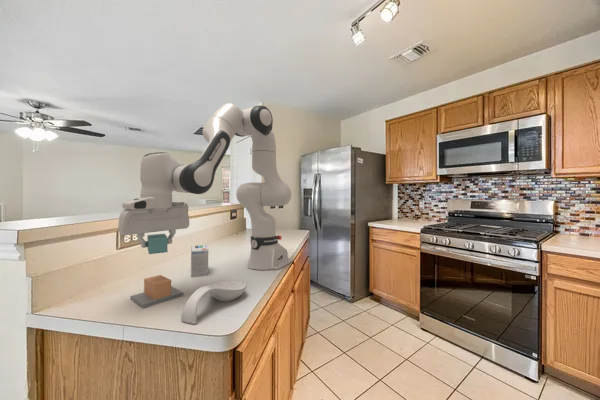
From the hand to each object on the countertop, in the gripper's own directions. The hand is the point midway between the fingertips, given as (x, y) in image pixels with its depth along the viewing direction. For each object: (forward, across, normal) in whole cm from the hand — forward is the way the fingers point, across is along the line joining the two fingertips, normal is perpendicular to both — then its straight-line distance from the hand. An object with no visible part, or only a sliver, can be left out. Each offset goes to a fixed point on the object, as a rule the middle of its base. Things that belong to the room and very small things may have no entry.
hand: (157, 245), depth 79 cm
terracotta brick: (+16, 0, 0) cm, 16 cm away
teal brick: (+2, 0, 0) cm, 2 cm away
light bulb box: (+17, -22, -12) cm, 31 cm away
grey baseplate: (+17, 0, 0) cm, 17 cm away
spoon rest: (+17, -9, +20) cm, 28 cm away
